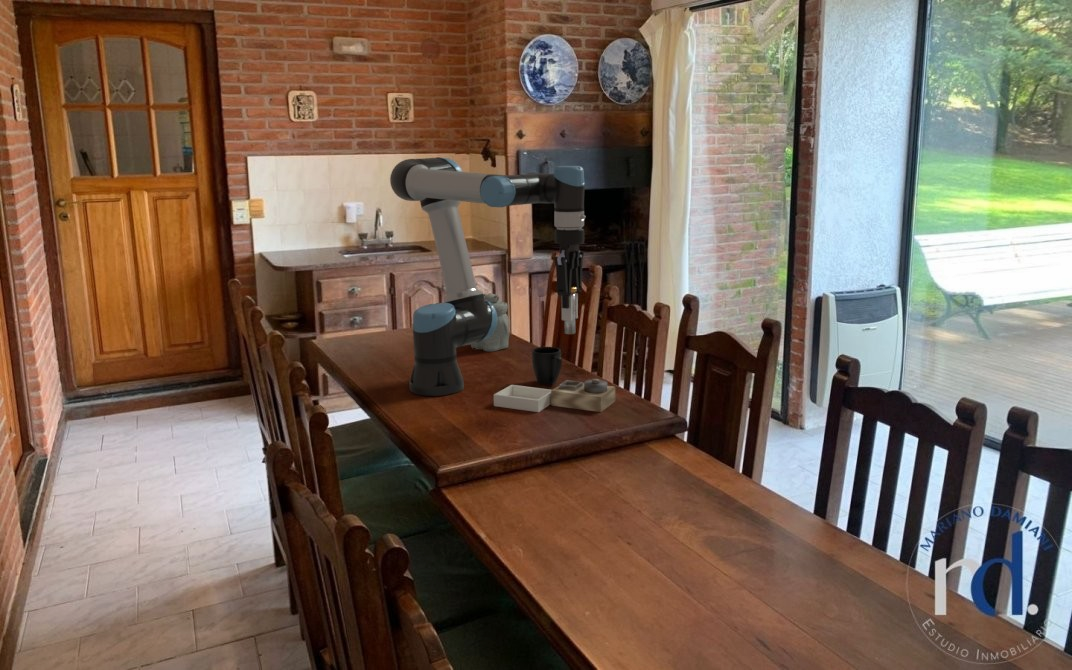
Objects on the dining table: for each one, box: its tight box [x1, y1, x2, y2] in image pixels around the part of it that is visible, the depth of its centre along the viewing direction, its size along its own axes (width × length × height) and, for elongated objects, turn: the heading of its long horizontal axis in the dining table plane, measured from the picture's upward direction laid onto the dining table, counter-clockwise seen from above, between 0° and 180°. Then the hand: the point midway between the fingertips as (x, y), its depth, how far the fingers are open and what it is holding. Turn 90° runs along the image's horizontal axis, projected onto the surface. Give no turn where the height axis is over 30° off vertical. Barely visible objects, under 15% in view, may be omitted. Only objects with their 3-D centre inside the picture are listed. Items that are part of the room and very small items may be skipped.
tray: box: [493, 384, 552, 413], centre depth 226 cm, size 13×10×3 cm
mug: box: [531, 346, 563, 386], centre depth 243 cm, size 8×12×10 cm
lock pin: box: [564, 286, 577, 335], centre depth 222 cm, size 4×4×12 cm
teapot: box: [470, 292, 510, 352], centre depth 286 cm, size 16×15×19 cm
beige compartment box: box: [550, 378, 616, 413], centre depth 225 cm, size 14×10×7 cm
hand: (569, 318), depth 223 cm, fingers closed on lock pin, 3 cm apart
